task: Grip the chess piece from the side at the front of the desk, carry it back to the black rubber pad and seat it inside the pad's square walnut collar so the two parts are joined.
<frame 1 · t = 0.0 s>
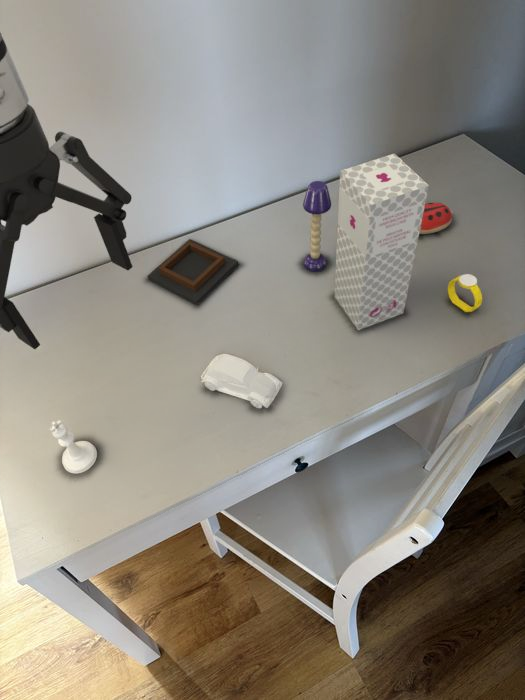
hand: (78, 301, 59), 27 cm above the table, tool pointing down, fingers open, 13 cm apart
socket pad: (193, 272, 99), on the table
chess piece: (80, 458, 78), on the table
box: (368, 305, 91), on the table
toy lamp: (316, 263, 98), on the table
car: (242, 385, 83), on the table
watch: (460, 306, 90), on the table
ladybug figurine: (426, 225, 103), on the table
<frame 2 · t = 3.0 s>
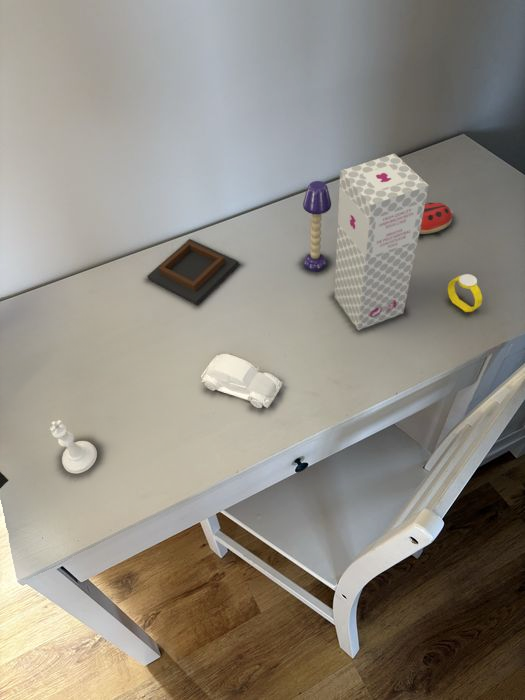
nothing on the table moved.
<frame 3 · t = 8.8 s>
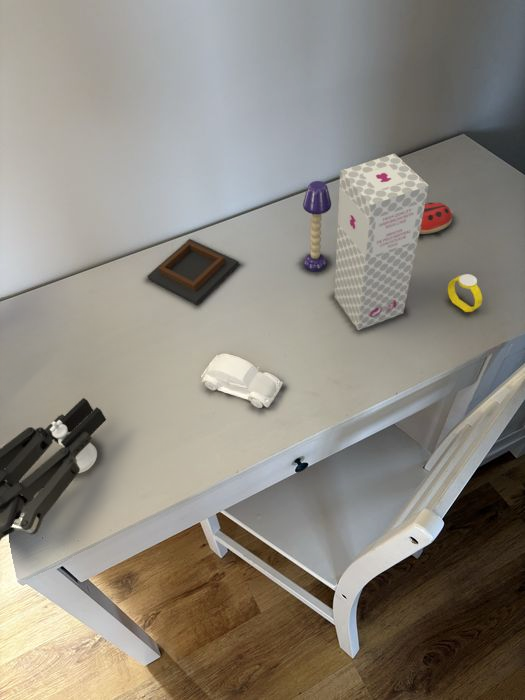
hand: (94, 408, 75), 6 cm above the table, tool horizontal, fingers closed on chess piece, 2 cm apart
chess piece: (80, 458, 78), on the table, touching gripper
everything else where it was.
when the fingers open (7 cm above the table, at t = 19.1 s): chess piece stays where it is, resting on socket pad.
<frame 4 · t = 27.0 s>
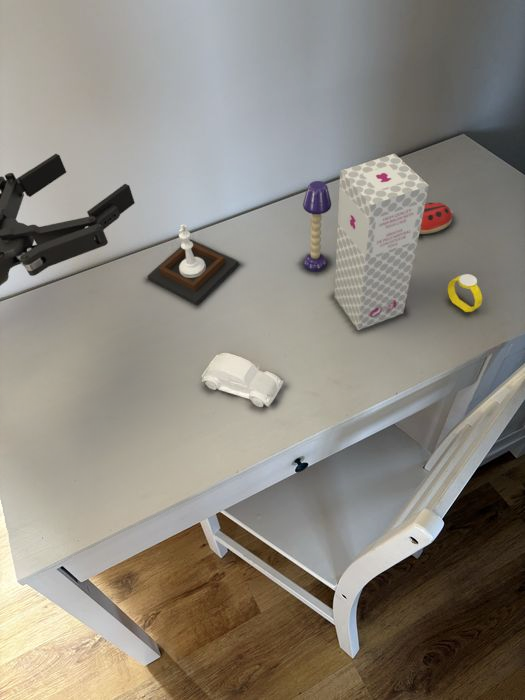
hand: (94, 177, 71), 28 cm above the table, tool horizontal, fingers open, 13 cm apart
chess piece: (192, 269, 99), point 1 cm above the table, touching socket pad
everything else where it was.
at the end: chess piece 0.0 cm off-centre on the socket pad, point 0.8 cm above the socket pad's base; chess piece tilted 0°; the gripper is holding nothing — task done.
